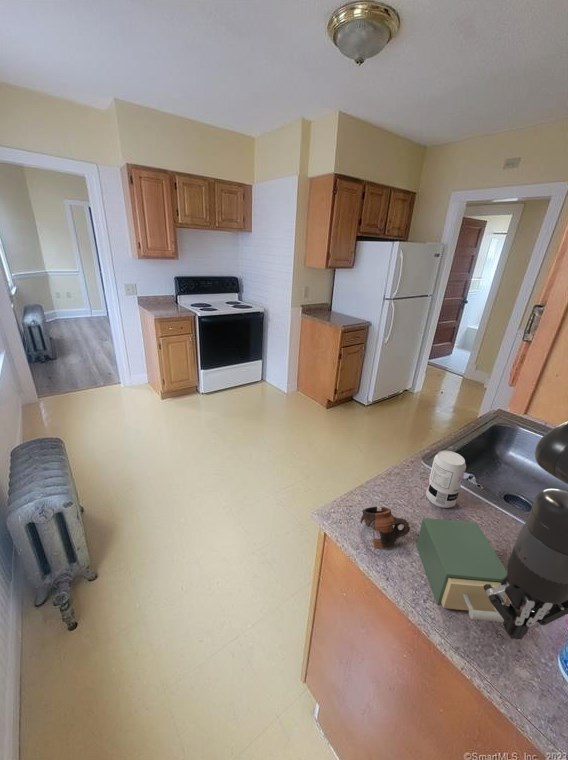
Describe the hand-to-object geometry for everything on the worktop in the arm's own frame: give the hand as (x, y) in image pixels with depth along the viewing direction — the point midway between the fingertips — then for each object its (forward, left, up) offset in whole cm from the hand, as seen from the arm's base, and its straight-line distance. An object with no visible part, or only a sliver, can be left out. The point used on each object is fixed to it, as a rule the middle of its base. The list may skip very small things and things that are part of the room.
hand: (512, 632), depth 53 cm
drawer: (0, -14, -9) cm, 17 cm away
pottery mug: (+14, -28, -10) cm, 33 cm away
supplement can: (-6, -43, -10) cm, 45 cm away
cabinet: (0, -18, -10) cm, 21 cm away
